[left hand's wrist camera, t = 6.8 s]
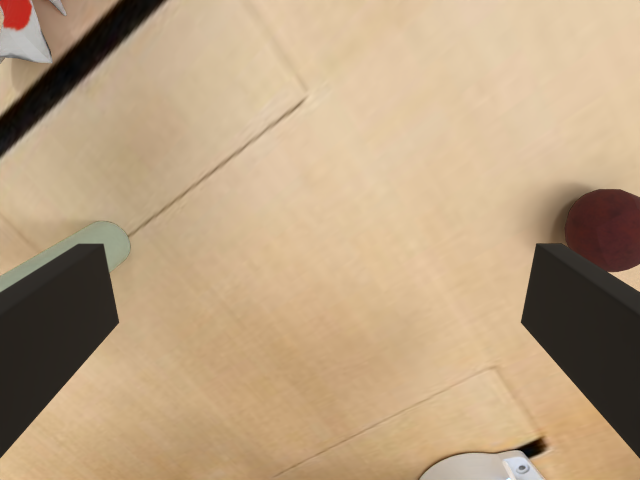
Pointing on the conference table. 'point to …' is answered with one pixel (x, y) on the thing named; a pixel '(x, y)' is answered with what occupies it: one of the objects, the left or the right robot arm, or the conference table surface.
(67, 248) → the green bottle
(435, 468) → the right robot arm
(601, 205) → the dark red ball
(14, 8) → the fish
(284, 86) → the conference table surface
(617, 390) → the left robot arm
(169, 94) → the conference table surface
